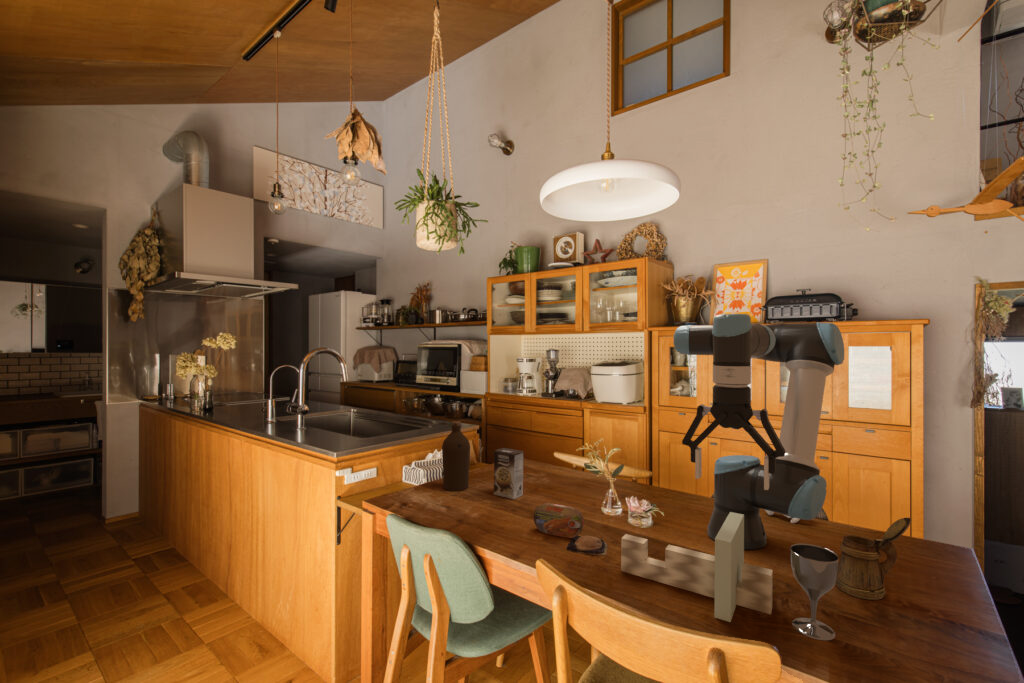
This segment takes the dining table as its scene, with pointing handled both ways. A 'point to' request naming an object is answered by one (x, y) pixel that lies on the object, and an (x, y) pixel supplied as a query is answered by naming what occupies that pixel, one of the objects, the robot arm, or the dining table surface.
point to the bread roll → (587, 545)
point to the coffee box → (508, 473)
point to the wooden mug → (868, 562)
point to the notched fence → (695, 572)
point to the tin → (558, 520)
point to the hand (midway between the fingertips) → (731, 482)
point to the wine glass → (814, 584)
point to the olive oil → (456, 460)
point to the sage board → (728, 565)
